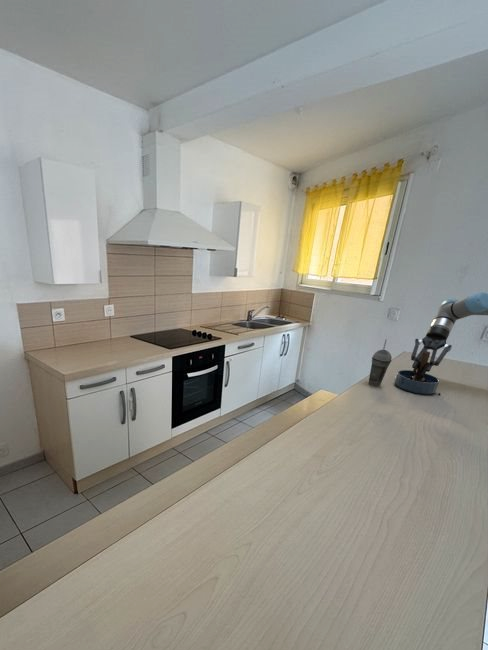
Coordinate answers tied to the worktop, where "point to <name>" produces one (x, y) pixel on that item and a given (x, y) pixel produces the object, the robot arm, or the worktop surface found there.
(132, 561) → the worktop surface
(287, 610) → the worktop surface
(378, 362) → the beverage cup
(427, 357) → the rusty bolt
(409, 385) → the bowl
